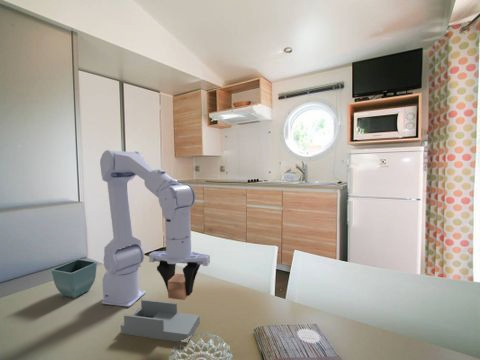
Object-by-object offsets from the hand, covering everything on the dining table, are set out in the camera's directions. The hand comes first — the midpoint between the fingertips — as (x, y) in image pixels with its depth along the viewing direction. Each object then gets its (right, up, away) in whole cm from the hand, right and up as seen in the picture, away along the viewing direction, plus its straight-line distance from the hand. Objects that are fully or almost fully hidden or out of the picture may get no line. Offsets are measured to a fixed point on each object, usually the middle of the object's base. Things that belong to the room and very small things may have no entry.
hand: (180, 292), depth 57 cm
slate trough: (-5, -9, +2) cm, 11 cm away
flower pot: (-38, -9, +19) cm, 43 cm away
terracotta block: (0, 0, 0) cm, 0 cm away
